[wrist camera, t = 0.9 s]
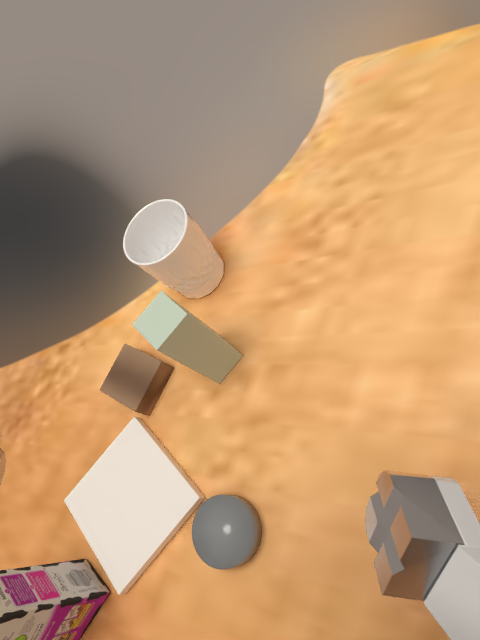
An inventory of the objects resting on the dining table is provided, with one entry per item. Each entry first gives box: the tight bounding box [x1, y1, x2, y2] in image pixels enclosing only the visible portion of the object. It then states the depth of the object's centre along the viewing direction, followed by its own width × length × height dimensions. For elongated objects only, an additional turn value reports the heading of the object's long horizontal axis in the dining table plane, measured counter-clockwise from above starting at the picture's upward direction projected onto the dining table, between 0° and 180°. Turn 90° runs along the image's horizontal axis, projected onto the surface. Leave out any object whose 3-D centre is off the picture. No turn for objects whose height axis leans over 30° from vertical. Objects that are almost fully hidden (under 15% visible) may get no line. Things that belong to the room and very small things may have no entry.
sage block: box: [133, 291, 243, 384], centre depth 43 cm, size 4×4×12 cm
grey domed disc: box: [192, 495, 262, 569], centre depth 40 cm, size 6×6×2 cm
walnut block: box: [100, 344, 174, 416], centre depth 50 cm, size 6×6×3 cm
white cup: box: [123, 199, 224, 299], centre depth 49 cm, size 8×8×10 cm
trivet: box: [64, 416, 205, 595], centre depth 46 cm, size 12×12×1 cm
